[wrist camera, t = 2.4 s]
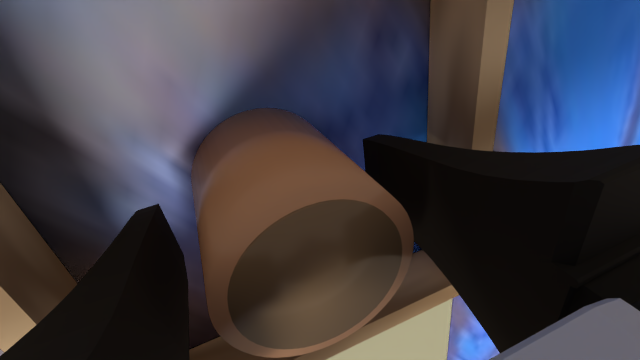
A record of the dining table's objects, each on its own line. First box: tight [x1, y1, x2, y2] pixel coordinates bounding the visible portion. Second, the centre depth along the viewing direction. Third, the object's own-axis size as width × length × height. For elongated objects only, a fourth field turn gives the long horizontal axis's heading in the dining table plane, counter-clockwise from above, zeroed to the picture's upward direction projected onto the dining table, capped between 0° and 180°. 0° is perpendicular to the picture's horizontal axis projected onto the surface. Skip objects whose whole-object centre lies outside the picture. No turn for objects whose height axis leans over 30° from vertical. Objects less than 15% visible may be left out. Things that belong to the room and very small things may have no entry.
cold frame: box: [0, 0, 514, 360], centre depth 10 cm, size 16×16×5 cm
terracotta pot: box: [191, 108, 414, 358], centre depth 10 cm, size 5×5×6 cm
